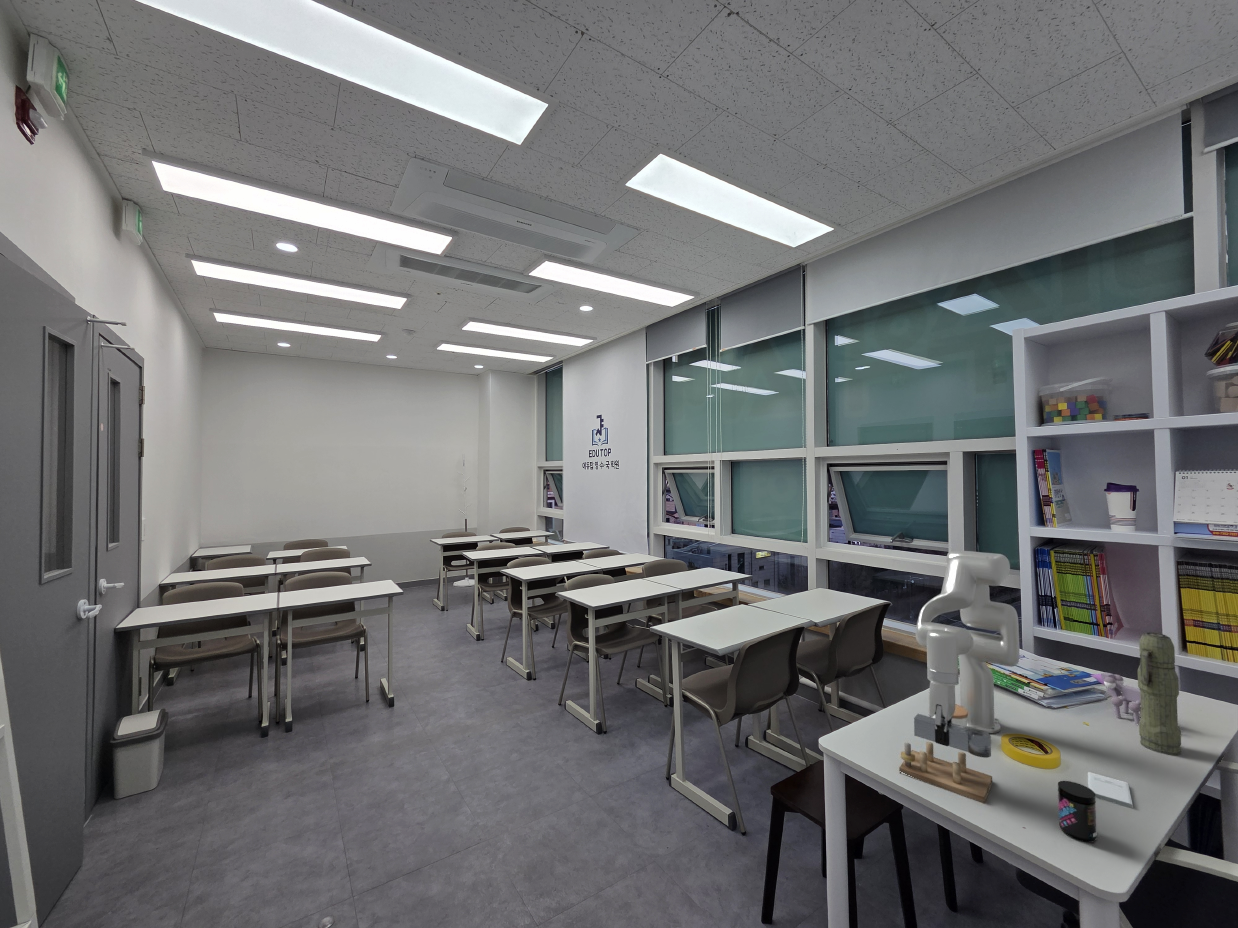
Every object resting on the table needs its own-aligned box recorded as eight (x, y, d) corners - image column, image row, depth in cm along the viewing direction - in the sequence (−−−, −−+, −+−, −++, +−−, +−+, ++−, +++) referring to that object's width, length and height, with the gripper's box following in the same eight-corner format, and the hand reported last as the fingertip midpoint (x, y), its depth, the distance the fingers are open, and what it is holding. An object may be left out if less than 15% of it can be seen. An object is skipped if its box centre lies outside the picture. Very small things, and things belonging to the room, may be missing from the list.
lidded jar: (957, 724, 175) (956, 696, 175) (975, 740, 164) (975, 710, 164) (924, 723, 176) (923, 695, 176) (940, 738, 165) (940, 709, 165)
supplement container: (1061, 819, 126) (1060, 777, 126) (1098, 834, 121) (1097, 789, 121) (1056, 832, 121) (1055, 788, 122) (1094, 848, 116) (1093, 801, 116)
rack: (910, 754, 156) (910, 729, 156) (992, 781, 142) (991, 754, 142) (898, 772, 146) (897, 745, 147) (984, 803, 132) (983, 773, 133)
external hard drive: (1089, 797, 135) (1087, 776, 145) (1132, 810, 130) (1128, 788, 139) (1088, 791, 135) (1087, 770, 145) (1132, 804, 130) (1128, 782, 139)
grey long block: (918, 729, 151) (918, 712, 151) (992, 751, 138) (992, 732, 139) (913, 736, 147) (913, 718, 147) (989, 759, 134) (988, 740, 135)
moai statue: (1190, 751, 157) (1186, 636, 158) (1168, 758, 153) (1164, 640, 154) (1152, 737, 165) (1149, 628, 166) (1130, 743, 161) (1126, 632, 162)
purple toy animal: (1082, 707, 187) (1082, 669, 187) (1098, 704, 191) (1098, 667, 191) (1156, 732, 168) (1155, 690, 169) (1172, 728, 172) (1172, 687, 173)
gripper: (934, 664, 153) (935, 726, 153) (919, 679, 141) (921, 747, 141) (964, 671, 148) (965, 735, 147) (951, 687, 136) (953, 757, 135)
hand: (943, 740), depth 144 cm, fingers closed on grey long block, 4 cm apart
